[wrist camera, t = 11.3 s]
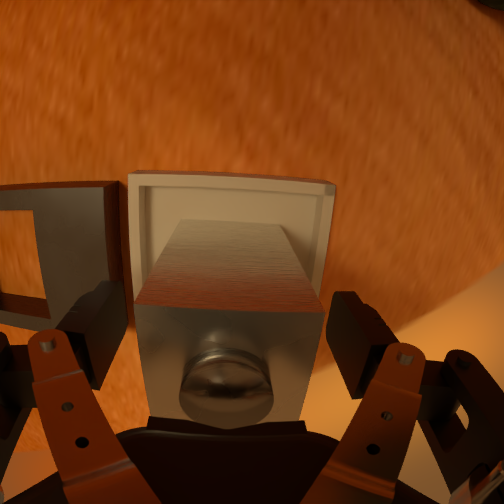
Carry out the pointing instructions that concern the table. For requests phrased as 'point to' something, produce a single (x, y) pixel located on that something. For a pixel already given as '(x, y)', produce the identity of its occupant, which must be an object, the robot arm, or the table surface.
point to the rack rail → (65, 246)
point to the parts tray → (227, 212)
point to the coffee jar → (494, 4)
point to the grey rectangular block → (227, 326)
